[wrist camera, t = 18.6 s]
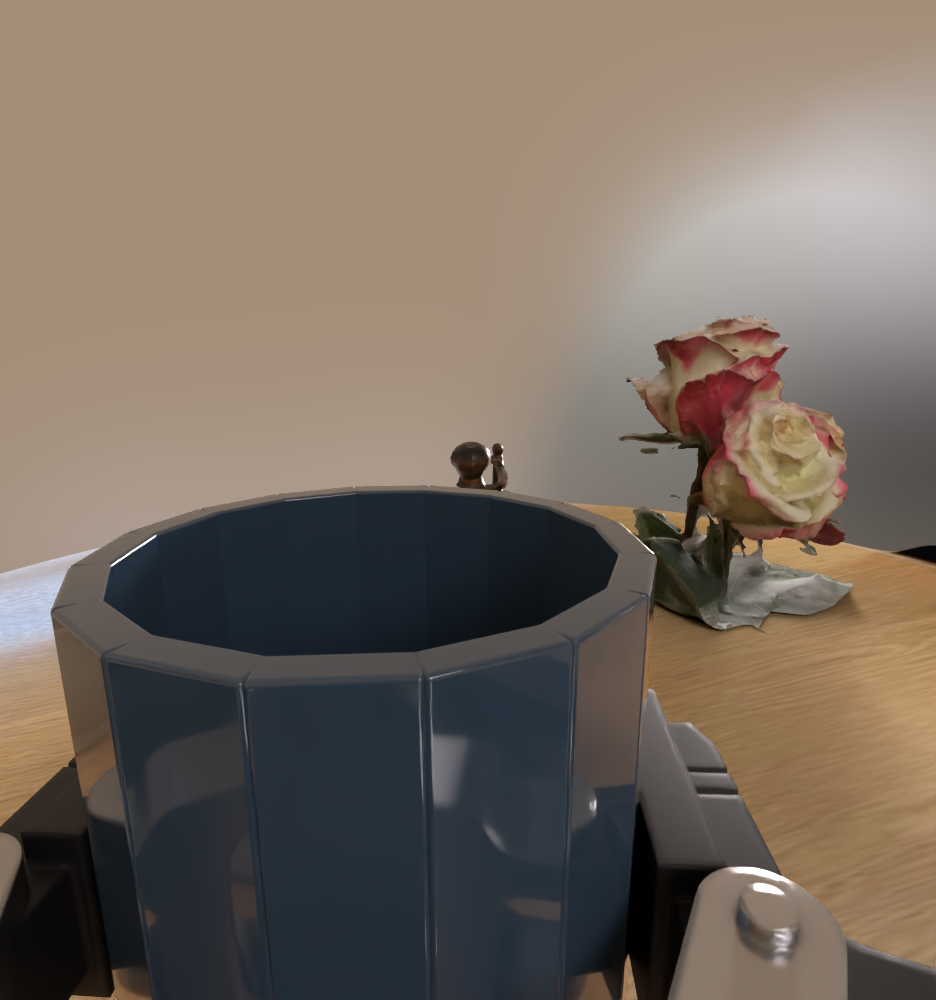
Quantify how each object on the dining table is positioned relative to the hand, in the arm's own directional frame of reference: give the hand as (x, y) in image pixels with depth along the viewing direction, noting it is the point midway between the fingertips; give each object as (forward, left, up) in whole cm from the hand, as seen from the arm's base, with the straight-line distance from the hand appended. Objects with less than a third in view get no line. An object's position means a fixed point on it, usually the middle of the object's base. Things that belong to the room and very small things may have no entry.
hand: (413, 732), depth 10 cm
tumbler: (-1, +2, -6) cm, 6 cm away
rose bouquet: (+17, -66, -21) cm, 71 cm away
